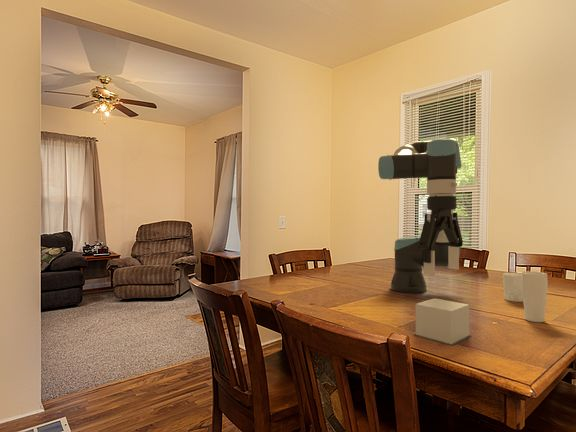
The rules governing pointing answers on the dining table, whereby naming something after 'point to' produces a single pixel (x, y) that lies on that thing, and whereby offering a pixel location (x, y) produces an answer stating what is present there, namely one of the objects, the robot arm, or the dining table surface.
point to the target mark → (444, 342)
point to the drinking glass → (534, 295)
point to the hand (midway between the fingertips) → (441, 272)
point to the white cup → (513, 287)
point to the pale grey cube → (442, 320)
